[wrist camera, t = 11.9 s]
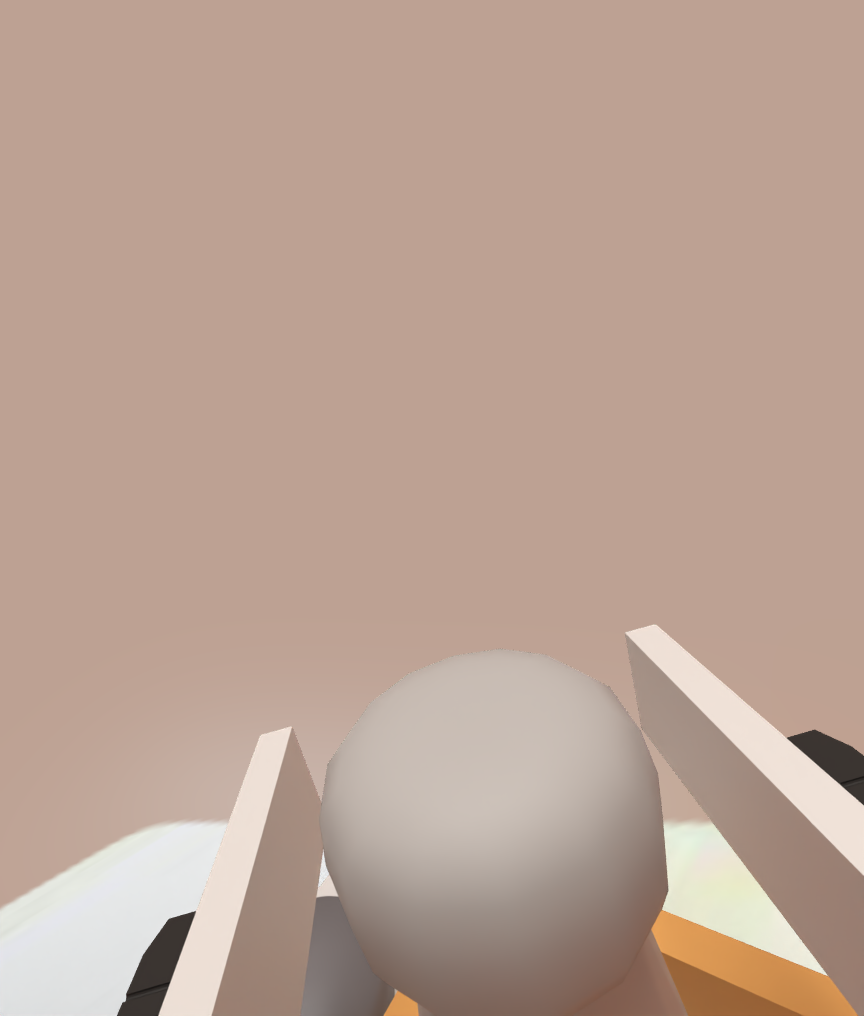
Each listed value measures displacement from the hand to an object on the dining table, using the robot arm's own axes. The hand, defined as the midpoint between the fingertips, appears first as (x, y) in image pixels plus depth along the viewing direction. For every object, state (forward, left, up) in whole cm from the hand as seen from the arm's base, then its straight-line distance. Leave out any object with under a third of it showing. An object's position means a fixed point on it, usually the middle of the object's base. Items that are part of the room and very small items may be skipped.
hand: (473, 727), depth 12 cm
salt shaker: (+3, -4, -9) cm, 10 cm away
